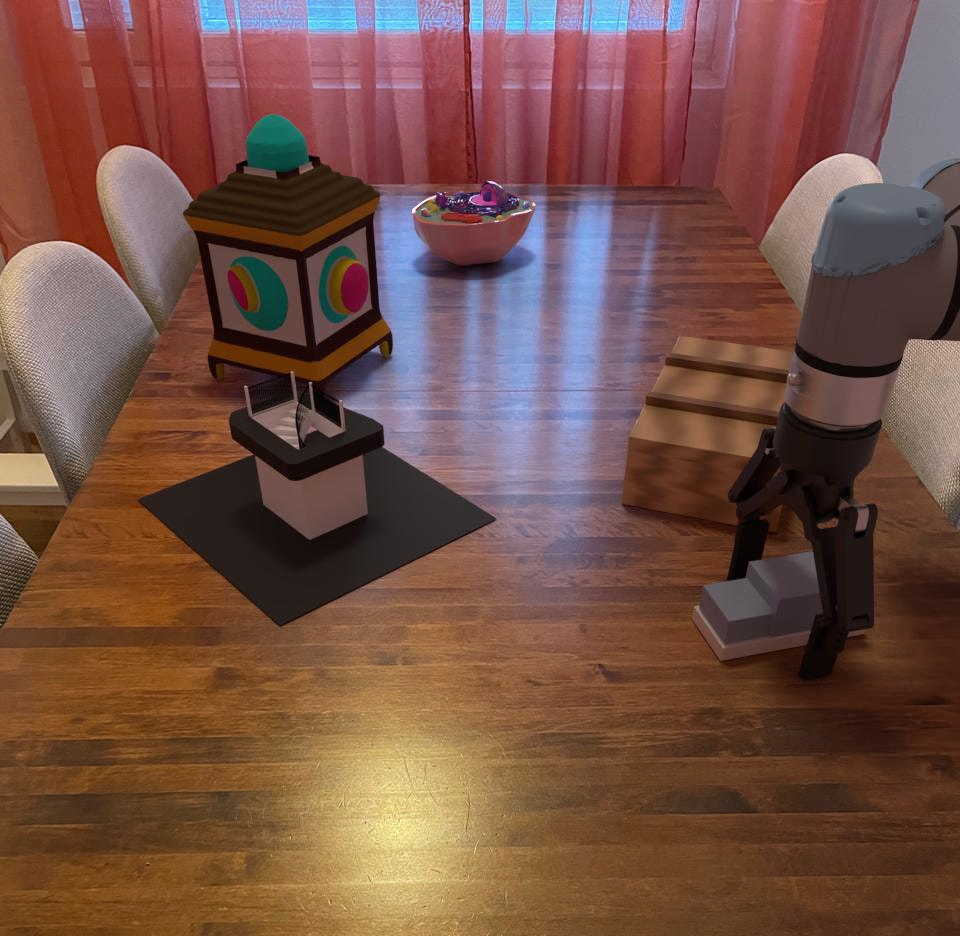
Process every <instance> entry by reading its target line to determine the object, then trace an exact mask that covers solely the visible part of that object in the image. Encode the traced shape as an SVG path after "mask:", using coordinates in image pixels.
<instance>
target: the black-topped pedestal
mask: <svg viewBox="0 0 960 936" xmlns="http://www.w3.org/2000/svg"><path fill="white" fill-rule="evenodd" d="M287 375H288V377H289V375H290V378H289V379H288V378H287V379H286V376H287ZM284 376H285V379H284ZM282 377H283V378H282ZM243 389H244V395H245V402H246V406H244V407H242V408H239V409H236V410H233V411H232V412H230V414H229V417H228V424H229V425H228V426H229V430H230V435H231V436H230V437H231V439H232V440H233V441H234V442H236V443H237V444H238V445H240V446H241V447H243V448H244V449H245V450H247V451H248V452H249V453H251V454H250V455H248V456H246V457H244V458H240V459H238V460H236V461H233V462H231V463H228V464H225V465H222V466H220V467H217V468H214V469H212V470H209V471H207V472H204V473H201V474H199V475H197V476H194V477H191V478H188V479H186V480H183V481H180V482H178V483H175V484H173V485H171V486H168V487H165V488H163V489H160V490H157V491H155V492H152V493H150V494H148V495H144V496H142V497H139V498H137V500H138V501H139V502H140V504H142V505H143V506H144V507H145V508H147V510H148V511H150V512H151V513H153V514H154V515H155V517H157V518H158V519H159V520H160V521H161V522H163V523H164V525H166V526H167V527H168V528H169V529H170V530H171V531H173V532H174V533H175V534H176V535H177V536H178V537H180V539H181V540H183V541H184V542H185V543H186V544H187V545H189V546H190V547H191V548H192V549H193V550H194V552H196V553H198V554H199V555H200V556H201V557H202V558H203V559H204V560H206V562H208V563H209V564H210V565H211V566H213V568H214V569H215V570H217V571H218V572H219V573H220V574H221V575H222V576H223V577H225V578H226V579H227V580H228V581H229V582H230V583H232V585H233V586H234V587H236V588H237V589H238V590H239V591H240V592H241V593H243V594H244V595H245V596H246V597H247V598H248V599H249V600H250V601H251V602H253V603H254V604H255V605H256V606H257V607H258V608H260V610H262V612H264V613H265V614H267V616H269V617H270V618H271V619H272V620H273V621H274V622H275V623H276V624H278V625H279V626H282V625H284V624H286V623H288V622H290V621H291V620H292V621H293V620H294V619H296V618H299V617H300V616H302V615H305V614H307V613H309V612H311V611H313V610H314V609H317V608H319V607H320V606H323V605H324V604H326V603H328V602H330V601H332V600H335V599H337V598H339V597H341V596H343V595H345V594H347V593H349V592H351V591H353V590H355V589H357V588H359V587H361V586H363V585H365V584H367V583H369V582H371V581H373V580H375V579H377V578H379V577H381V576H383V575H385V574H387V573H389V572H392V571H394V570H395V569H398V568H400V567H402V566H404V565H405V564H407V563H410V562H412V561H413V560H416V559H418V558H420V557H422V556H424V555H426V554H428V553H429V552H432V551H434V550H435V549H439V548H440V547H442V546H444V545H446V544H448V543H450V542H452V541H454V540H457V539H459V538H460V537H462V536H464V535H467V534H468V533H470V532H473V531H475V530H476V529H478V528H480V527H482V526H484V525H487V524H489V523H491V522H493V521H495V520H496V519H498V518H497V517H495V516H493V515H492V514H491V513H489V512H488V511H486V510H484V509H483V508H482V507H479V506H477V504H474V503H473V502H471V501H470V500H468V499H467V498H465V497H463V496H462V495H461V494H459V493H458V492H455V491H454V490H453V489H451V488H449V487H447V486H446V485H444V484H443V483H441V482H439V481H438V480H436V479H434V478H432V477H431V476H429V475H428V474H426V473H425V472H423V471H422V470H421V469H419V468H417V467H415V466H414V465H412V464H410V463H409V462H407V461H406V460H404V459H402V458H401V457H399V456H398V455H396V454H394V453H393V452H391V451H390V450H388V449H387V448H385V447H384V446H385V443H386V441H385V428H384V424H382V423H380V422H379V421H377V420H375V419H374V418H372V417H369V416H367V415H365V414H362V413H360V412H357V411H354V410H352V409H350V408H347V407H344V401H343V400H342V399H337V398H336V397H334V396H332V395H330V394H329V393H328V392H324V391H322V390H320V389H319V388H317V387H316V386H314V385H312V382H309V384H308V385H306V387H305V389H304V390H303V391H302V390H297V385H296V381H295V377H294V372H293V371H292V372H290V373H287V374H284V375H282V376H279V377H276V376H275V377H273V378H270V379H267V380H264V381H262V382H259V383H255V384H253V385H249V386H248V385H244V386H243ZM313 389H317V390H318V391H317V392H315V391H314V390H313ZM315 394H316V395H315ZM320 394H325V396H322V395H320ZM324 398H325V399H324ZM311 427H312V428H314V429H315V430H314V431H310V432H309V430H310V429H311Z"/></svg>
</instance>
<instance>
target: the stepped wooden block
mask: <svg viewBox="0 0 960 936" xmlns="http://www.w3.org/2000/svg"><path fill="white" fill-rule="evenodd" d="M793 354H794V351H790V350H784V349H778V348H777V349H776V348H769V347H762V346H756V345H748V344H742V343H734V342H726V341H720V340H712V339H707V338H706V339H705V338H699V337H692V336H684V335H679V337H678V338H677V340H676V343H675V345H674V346H673V348H672V349H671V352H667V354H666V356H665V361H664V362H665V363H664V366H663V368H662V370H661V372H660V373H659V376H658V378H657V380H656V382H655V383H654V386H653V388H652V390H648V392H647V394H646V395H645V401H644V406H643V408H642V410H641V411H640V414H639V416H638V417H637V420H636V421H635V423H634V426H633V428H632V429H631V431H630V433H629V435H628V441H627V451H626V458H625V459H626V461H625V469H624V478H623V486H622V487H623V488H622V496H621V504H622V505H626V506H632V507H637V508H641V509H646V510H647V509H648V510H653V511H658V512H663V513H668V514H672V515H673V514H674V515H678V516H684V517H688V518H695V519H700V520H704V521H710V522H715V523H721V524H727V525H732V526H736V527H737V525H738V520H739V519H738V518H737V516H736V508H737V505H736V503H730V501H729V499H728V493H729V490H730V489H731V487H732V486H733V484H734V483H735V481H736V480H737V478H738V477H739V475H740V474H741V472H742V471H743V469H744V468H745V466H746V465H747V463H748V462H749V460H750V458H751V457H752V455H753V454H754V452H755V451H756V449H757V447H758V444H759V440H760V437H761V434H762V431H763V429H766V428H773V427H776V425H777V421H778V416H779V412H780V408H781V406H782V404H783V403H784V402H785V399H784V393H785V389H786V384H787V377H788V375H789V372H790V367H791V363H792V359H793ZM780 471H781V469H780V467H779V469H778V470H777V472H776V473H775V474H774V476H773V477H772V479H773V478H774V477H776V476H777V474H778V473H779V472H780ZM782 508H783V504H782V505H780V506H779V507H777V508H776V509H774V510H773V511H771V512H770V514H771V513H772V515H767V516H760V520H761V519H767V520H768V522H769V523H770V525H769V529H768V533H773V534H774V533H776V532H777V529H778V524H779V520H780V516H781V513H782Z"/></svg>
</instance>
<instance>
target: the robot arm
mask: <svg viewBox="0 0 960 936" xmlns="http://www.w3.org/2000/svg"><path fill="white" fill-rule="evenodd" d="M810 262H811V268H810V274H809V279H808V283H807V288H806V293H805V297H804V298H805V299H804V303H803V308H802V311H801V312H802V313H801V318H800V323H799V328H798V331H797V337H796V339H795V345H794V351H793V352H794V354H793V359H792V363H791V367H790V372H789V375H788V377H787V384H786V389H785V393H784V399H785V402H784V403H783V404H782V406H781V408H780V412H779V416H778V421H777V425H776V427H773V428H766V429H763V431H762V434H761V437H760V440H759V444H758V447H757V449H756V451H755V452H754V454H753V455H752V457H751V458H750V460H749V462H748V463H747V465H746V466H745V468H744V469H743V471H742V472H741V474H740V475H739V477H738V478H737V480H736V481H735V483H734V484H733V486H732V487H731V489H730V490H729V493H728V499H729V501H730V503H736V505H737V508H736V516H737V518H738V519H739V520H738V525H737V526H736V529H735V535H734V545H733V550H732V553H731V559H730V564H729V569H728V573H727V578H726V581H732V580H738V579H744V578H746V573H747V569H748V564H749V562H751V561H757V560H763V559H762V558H763V555H764V550H765V545H766V541H767V537H768V533H769V532H768V529H769V525H770V523H769V522H768V520H767V519H761V520H760V516H767V515H772V513H771V514H770V512H771V511H773V510H774V509H776V508H777V507H779V506H780V505H782V506H783V504H785V506H786V507H787V508H788V509H789V510H790V511H792V512H793V513H795V515H796V517H797V518H798V520H799V521H800V522H801V523H802V528H803V533H804V535H803V536H804V538H805V539H806V541H808V542H810V543H811V547H812V551H813V555H814V561H815V567H816V573H817V580H818V586H819V592H820V599H821V605H822V611H823V613H822V614H817V615H815V618H814V622H813V625H812V629H811V632H810V635H809V639H808V642H807V645H805V649H804V653H803V655H802V660H801V662H800V665H799V666H800V667H799V670H798V673H797V675H798V676H799V677H800V679H801V680H802V681H804V680H805V681H806V680H810V679H815V678H821V677H825V676H831V675H832V673H833V670H834V668H835V664H836V661H837V658H838V655H839V654H841V653H842V652H843V651H844V649H845V646H846V642H847V640H848V638H849V637H848V634H849V632H853V631H858V630H863V629H866V630H869V629H872V628H874V626H875V587H874V586H875V584H874V583H875V569H874V568H875V567H874V565H875V564H874V563H875V562H874V559H875V558H874V553H875V552H874V534H875V528H876V523H877V520H878V515H879V510H878V509H879V508H878V506H877V504H876V503H874V502H870V503H864V504H863V503H861V502H860V501H858V500H857V499H855V498H854V497H855V494H854V493H855V492H854V483H855V480H856V478H857V477H858V476H859V474H861V472H863V470H865V469H866V468H867V467H868V466H869V465H870V463H871V461H872V460H873V457H874V453H875V450H876V447H877V444H878V440H879V437H880V433H881V430H882V426H883V420H882V418H884V417H885V415H886V413H887V412H888V410H889V405H890V402H891V399H892V396H893V392H894V388H895V386H896V385H895V384H896V381H897V379H898V374H899V371H900V367H901V364H902V362H903V358H904V352H905V351H906V347H907V345H908V343H909V341H911V340H920V341H922V340H923V341H946V342H947V341H948V342H960V158H951V159H950V158H949V159H946V160H942V161H938V162H936V163H934V164H932V165H930V166H929V167H927V168H926V169H924V170H923V171H922V172H921V173H920V174H919V175H917V177H916V178H915V179H914V180H913V181H912V182H911V184H910V185H906V186H903V185H899V184H896V183H890V182H889V183H886V182H870V183H860V184H856V185H852V186H849V187H847V188H845V189H843V190H841V191H839V192H838V193H837V194H836V195H835V196H833V198H832V199H831V201H830V202H829V204H828V207H827V209H826V213H825V215H824V219H823V222H822V225H821V229H820V233H819V236H818V240H817V243H816V247H815V250H814V252H813V254H812V255H811V260H810ZM779 467H780V469H781V471H780V472H779V473H778V474H777V476H776V477H774V478H773V479H772V477H773V476H774V474H775V473H776V472H777V470H778V469H779ZM832 520H834V526H831V527H825V528H819V526H818V525H820V524H826V523H829V522H830V521H832ZM836 606H837V609H836Z"/></svg>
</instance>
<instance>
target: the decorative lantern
mask: <svg viewBox="0 0 960 936" xmlns="http://www.w3.org/2000/svg"><path fill="white" fill-rule="evenodd" d="M308 150H309V149H308V144H307V141H306V138H305V136H304V134H303V133H302V132H301V131H300V130H299V129H298V128H297V127H296V126H295V125H294V124H293V122H292V121H290V120H289V119H288V118H286V117H284V116H282V115H281V114H277V113H276V114H268V115H267V114H266V115H264V116H262V118H261V119H259V120H258V121H257V122H256V123H255V124H254V126H253V127H252V128H251V130H250V131H249V133H248V134H247V137H246V140H245V153H246V159H245V160H242V161H240V162H238V163H236V164H235V171H232V172H229V174H228V175H227V177H226V180H223V181H221V182H219V184H217V185H215V186H213V187H210V188H207V189H206V190H202V191H201V192H200V193H199V194H198V195H197V197H196V198H195V199H194V200H192V201H190V202H189V203H188V207H187V208H185V209H184V210H183V212H182V216H183V218H184V220H185V222H186V223H187V224H188V226H189V227H190V229H191V230H192V231H193V233H194V235H195V238H196V241H197V246H198V253H199V258H200V262H201V263H200V264H201V268H202V272H203V279H204V284H205V289H206V295H207V300H208V306H209V311H210V317H211V320H212V328H213V334H212V335H213V336H212V339H211V343H210V345H209V349H208V352H207V364H208V368H209V371H210V374H211V376H212V378H213V379H215V380H216V381H221V380H222V379H223V378H224V377H225V365H228V366H230V367H231V366H232V367H235V368H239V369H243V370H247V371H252V372H255V373H260V374H265V375H268V376H272V377H275V378H276V377H279V376H282V375H284V374H287V373H290V372H292V371H293V372H294V377H295V383H296V382H297V383H301V384H304V385H305V386H307V385H308V384H309V382H312V385H314V386H316V387H317V388H319V389H320V390H322V391H324V392H325V393H327V392H326V389H327V385H328V383H329V382H330V381H331V380H332V379H334V377H336V376H337V375H339V374H340V373H341V372H343V371H345V370H346V369H347V368H349V367H350V366H352V365H353V364H354V363H355V362H358V361H359V360H360V359H361V358H363V357H364V356H365V355H367V354H369V353H370V352H371V351H373V350H374V349H376V348H377V347H378V348H379V352H380V354H381V356H383V357H384V358H388V357H390V356H391V355H392V353H393V349H394V340H393V339H394V338H393V332H392V330H391V328H390V327H389V325H388V323H387V322H386V320H385V318H384V316H383V314H382V312H381V307H380V297H379V283H378V281H379V280H378V269H377V268H378V267H377V253H376V239H375V226H374V225H375V224H374V219H375V214H376V210H377V209H378V205H379V203H380V199H381V193H380V192H379V191H377V190H375V189H374V188H373V186H372V185H371V184H367V183H364V181H363V179H361V178H359V177H356V176H350V175H344V174H342V173H341V172H340V171H336V170H333V169H332V167H331V166H330V165H329V164H324V163H322V162H321V157H320V156H317V155H310V154H309V151H308ZM287 378H288V379H289V378H290V375H289V377H288V375H287V376H286V380H287ZM281 379H283V377H282V378H281ZM283 380H285V376H284V379H283ZM313 390H314V391H315V392H317V391H318V390H317V389H313ZM315 395H316V394H315ZM320 395H322V396H325V394H320ZM324 399H325V398H324Z"/></svg>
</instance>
